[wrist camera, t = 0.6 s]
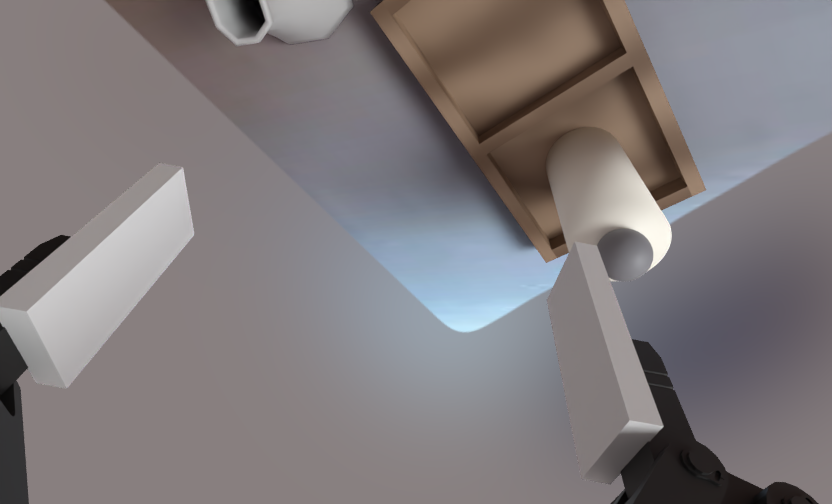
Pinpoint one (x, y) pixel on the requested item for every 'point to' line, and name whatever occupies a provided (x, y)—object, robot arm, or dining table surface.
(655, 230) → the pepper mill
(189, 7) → the dining table surface
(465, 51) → the tray
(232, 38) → the flask
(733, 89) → the dining table surface
